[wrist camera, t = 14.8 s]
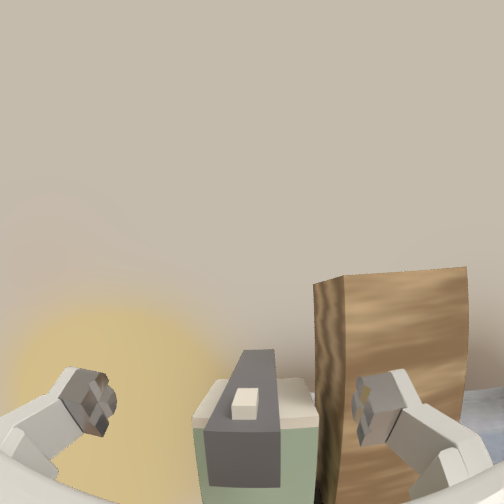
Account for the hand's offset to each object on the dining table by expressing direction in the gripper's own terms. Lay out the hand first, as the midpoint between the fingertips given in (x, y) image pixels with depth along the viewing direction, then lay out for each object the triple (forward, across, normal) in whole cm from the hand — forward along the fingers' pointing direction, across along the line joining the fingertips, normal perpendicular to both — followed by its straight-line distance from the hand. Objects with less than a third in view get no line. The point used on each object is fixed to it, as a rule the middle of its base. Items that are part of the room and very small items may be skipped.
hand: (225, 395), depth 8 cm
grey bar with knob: (+9, 0, +13) cm, 16 cm away
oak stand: (+8, -13, +29) cm, 33 cm away
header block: (+6, 0, +28) cm, 29 cm away
